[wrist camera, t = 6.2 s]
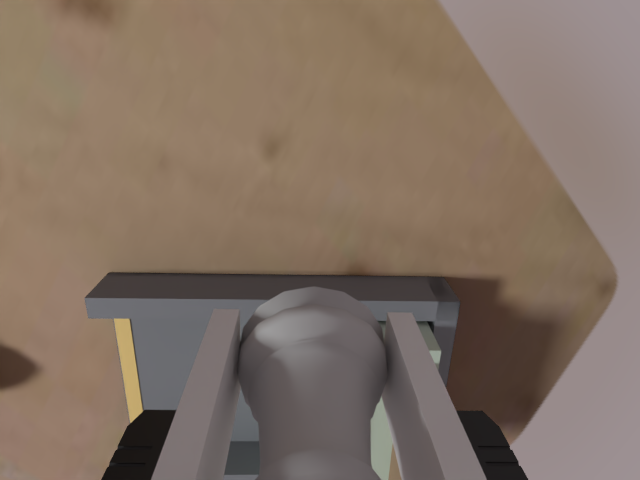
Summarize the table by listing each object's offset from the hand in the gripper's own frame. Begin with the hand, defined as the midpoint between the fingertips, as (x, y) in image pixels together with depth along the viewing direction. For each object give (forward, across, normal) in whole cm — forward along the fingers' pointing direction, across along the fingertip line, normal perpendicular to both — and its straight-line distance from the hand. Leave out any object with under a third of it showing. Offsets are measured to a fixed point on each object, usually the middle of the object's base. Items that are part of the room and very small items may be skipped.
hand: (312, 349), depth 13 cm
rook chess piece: (0, 0, 0) cm, 0 cm away
